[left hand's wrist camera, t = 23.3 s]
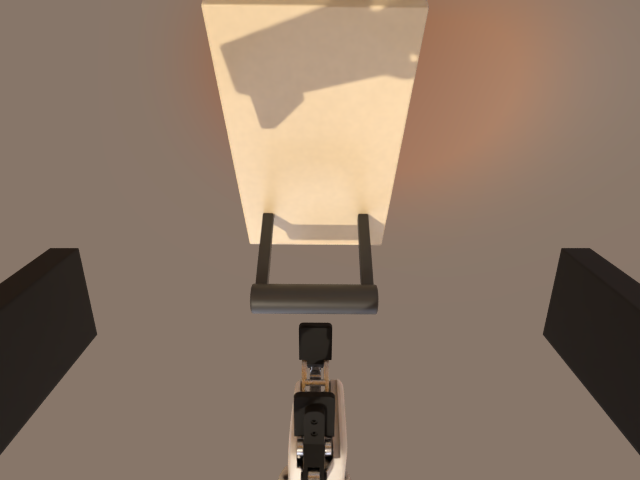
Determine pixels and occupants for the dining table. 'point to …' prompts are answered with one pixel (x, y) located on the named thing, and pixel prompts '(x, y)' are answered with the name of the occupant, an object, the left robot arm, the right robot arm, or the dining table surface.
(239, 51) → the lid
